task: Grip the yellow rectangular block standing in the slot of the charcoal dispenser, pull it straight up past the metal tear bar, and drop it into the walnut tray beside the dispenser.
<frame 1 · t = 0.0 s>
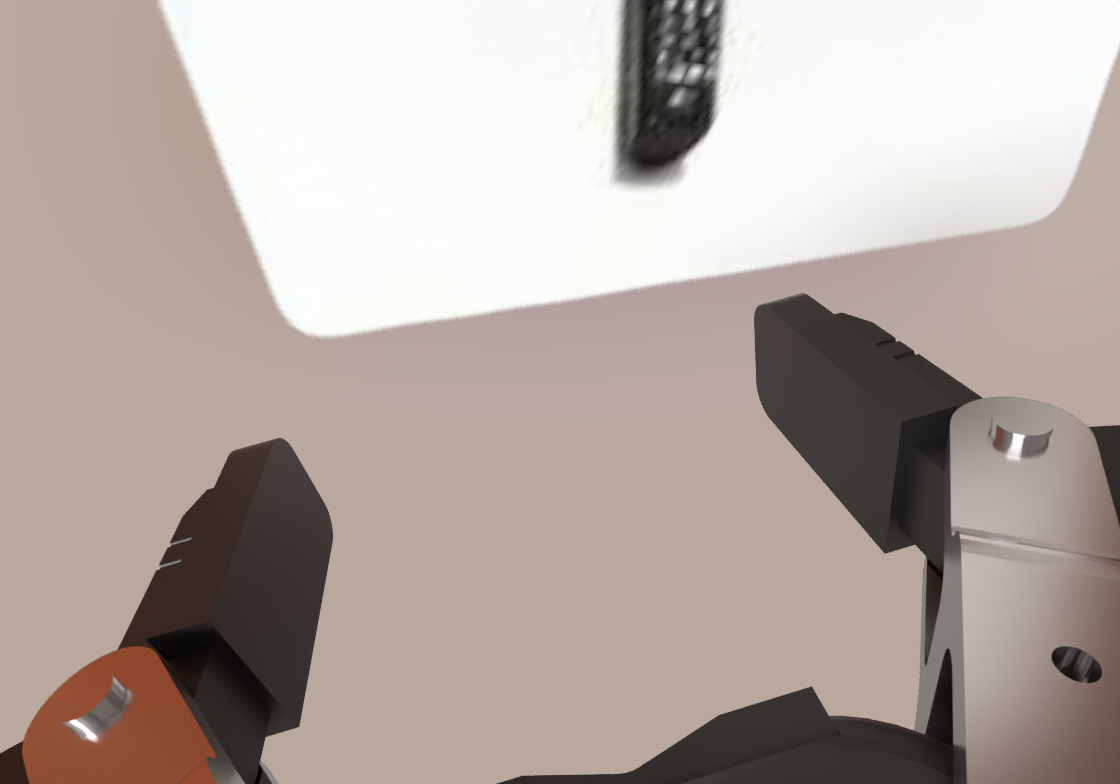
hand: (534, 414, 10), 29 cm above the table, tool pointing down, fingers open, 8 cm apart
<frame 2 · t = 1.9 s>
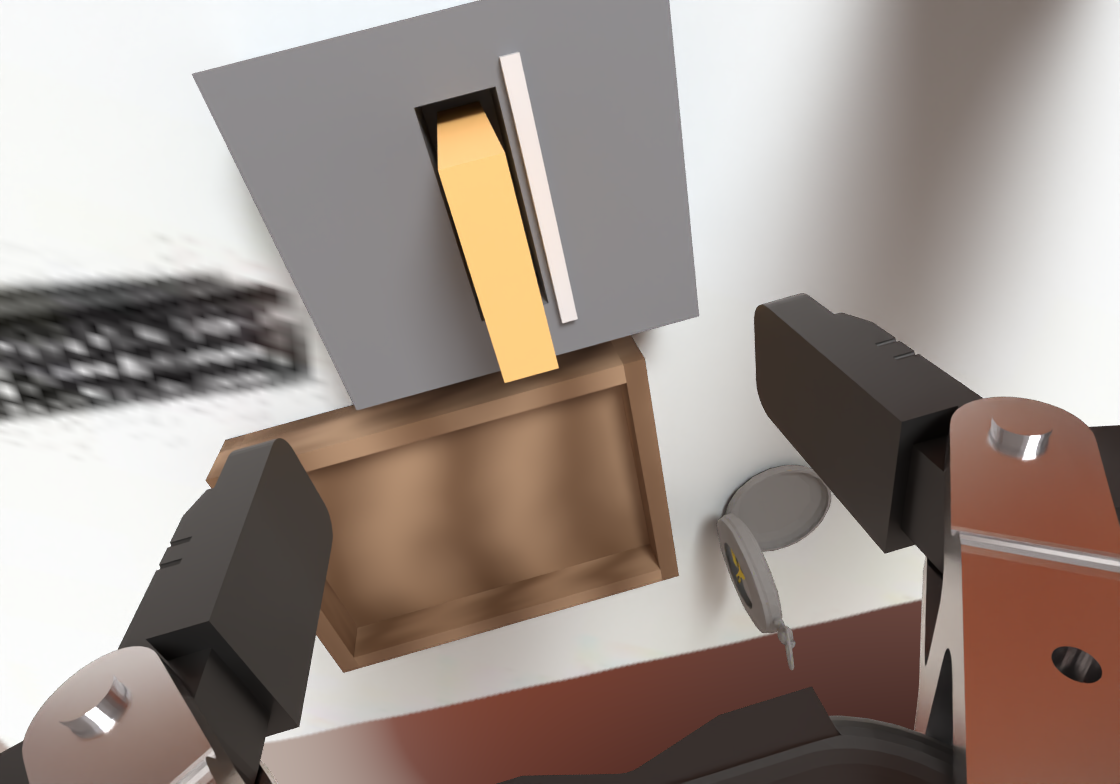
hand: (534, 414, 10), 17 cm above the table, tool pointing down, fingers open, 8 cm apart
tray: (472, 495, 34), on the table
dispenser: (479, 181, 25), on the table
pocket watch: (752, 503, 38), on the table
yellow rectangular block: (480, 187, 24), point 1 cm above the table, touching dispenser
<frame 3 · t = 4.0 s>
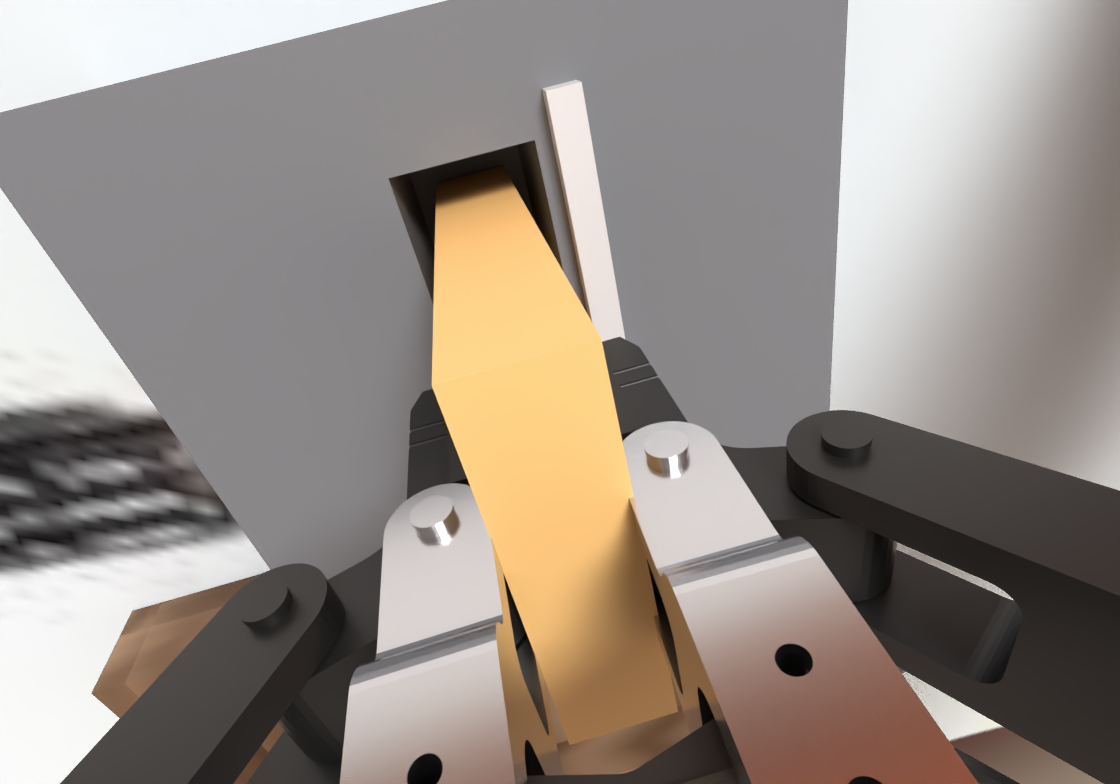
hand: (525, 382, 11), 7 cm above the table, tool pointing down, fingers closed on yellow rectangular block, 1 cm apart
tray: (478, 653, 25), on the table
dispenser: (493, 263, 17), on the table
yellow rectangular block: (503, 292, 16), point 1 cm above the table, touching gripper
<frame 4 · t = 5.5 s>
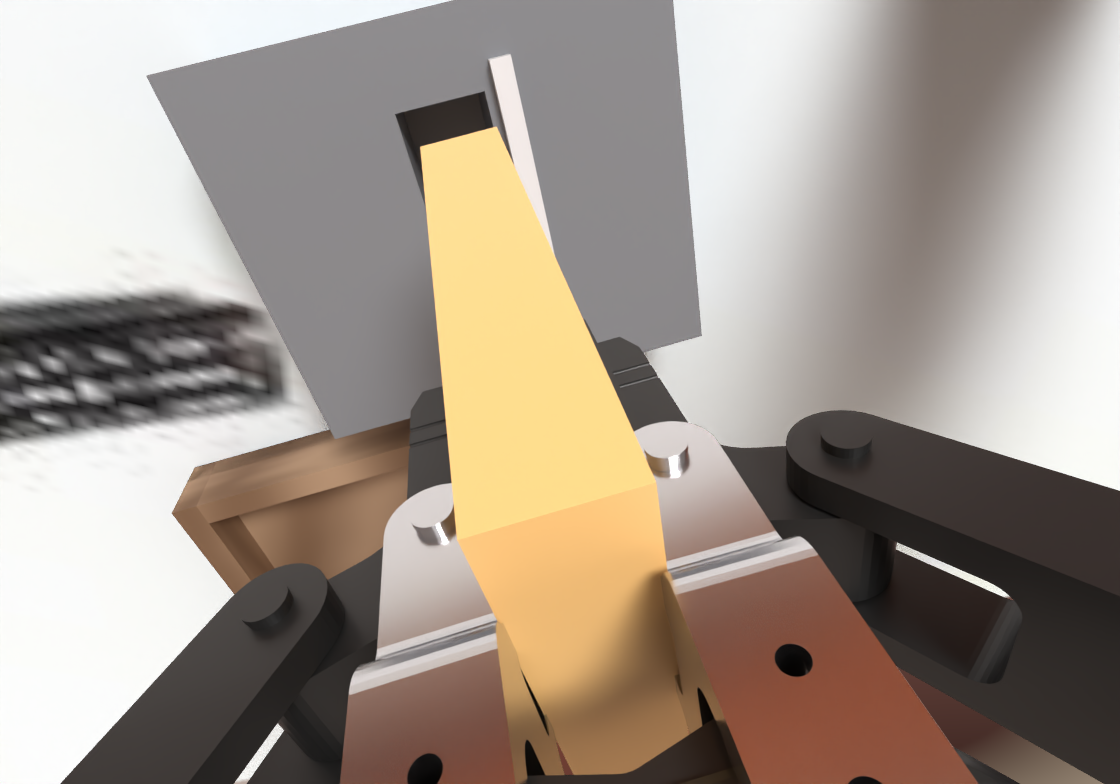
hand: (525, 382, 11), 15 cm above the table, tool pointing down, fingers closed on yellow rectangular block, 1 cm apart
tray: (460, 521, 32), on the table
dispenser: (466, 192, 23), on the table
yellow rectangular block: (495, 266, 14), point 10 cm above the table, tilted 7°, touching gripper
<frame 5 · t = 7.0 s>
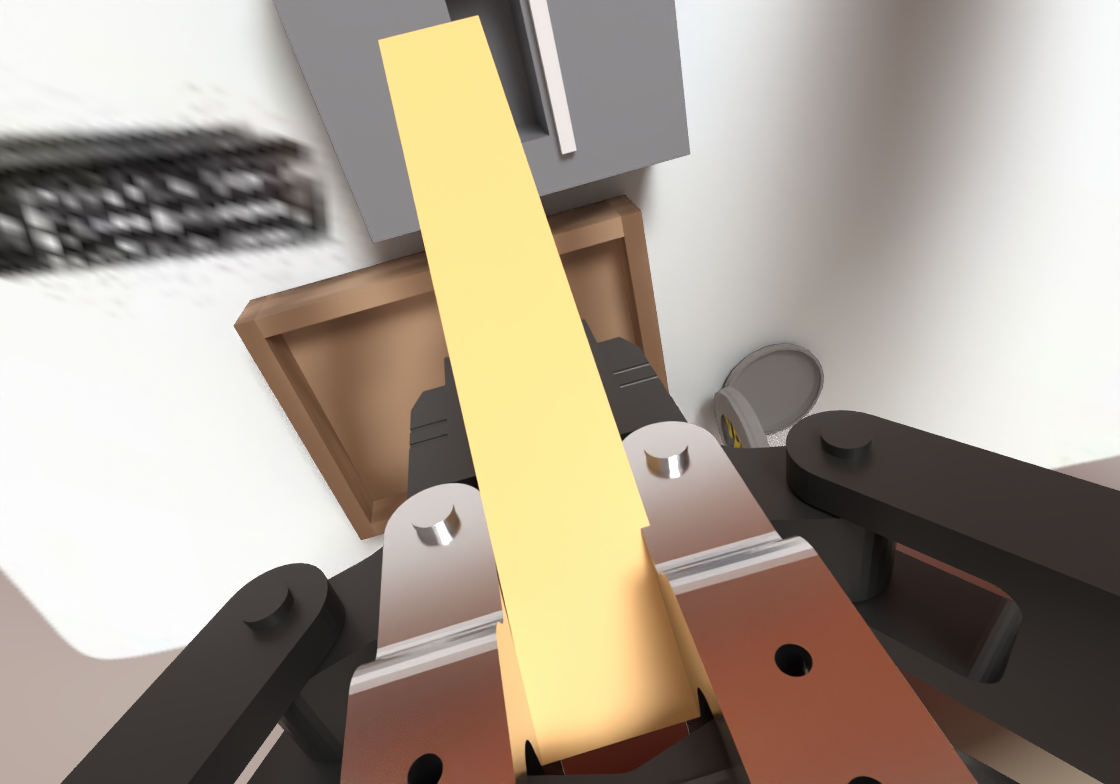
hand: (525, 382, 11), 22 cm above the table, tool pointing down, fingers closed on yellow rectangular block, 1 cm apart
tray: (481, 367, 36), on the table
dispenser: (484, 35, 27), on the table
pocket watch: (748, 387, 40), on the table
yellow rectangular block: (468, 169, 12), point 18 cm above the table, tilted 33°, touching gripper
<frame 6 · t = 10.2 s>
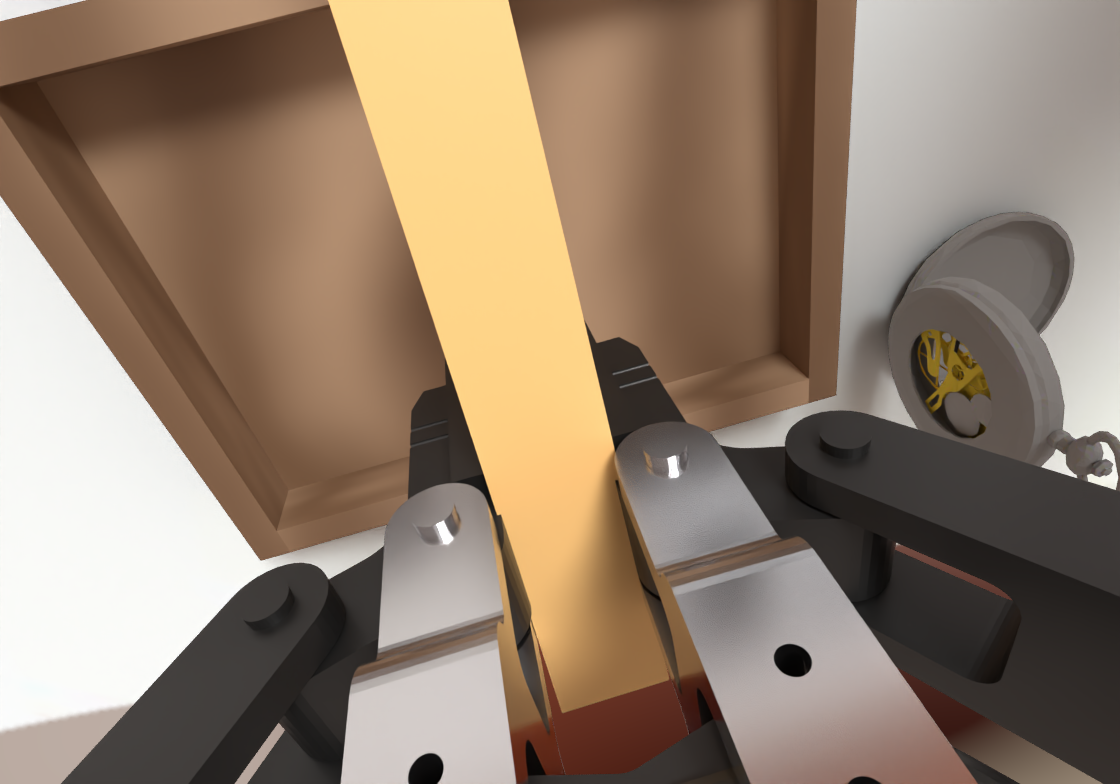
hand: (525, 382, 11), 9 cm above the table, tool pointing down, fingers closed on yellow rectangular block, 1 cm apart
tray: (486, 235, 19), on the table
pocket watch: (936, 298, 24), on the table
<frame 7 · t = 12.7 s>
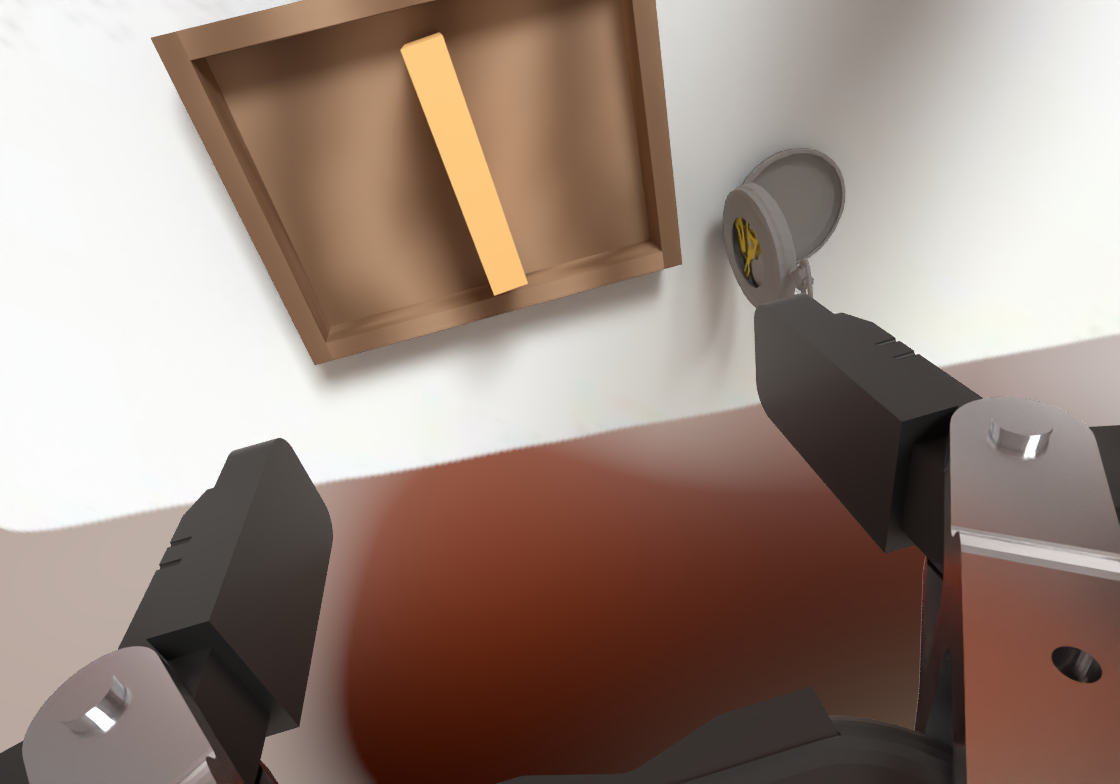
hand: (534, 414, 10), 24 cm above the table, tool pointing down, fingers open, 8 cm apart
tray: (456, 157, 31), on the table
pocket watch: (760, 209, 35), on the table
yellow rectangular block: (421, 40, 24), point 4 cm above the table, tilted 90°, touching tray
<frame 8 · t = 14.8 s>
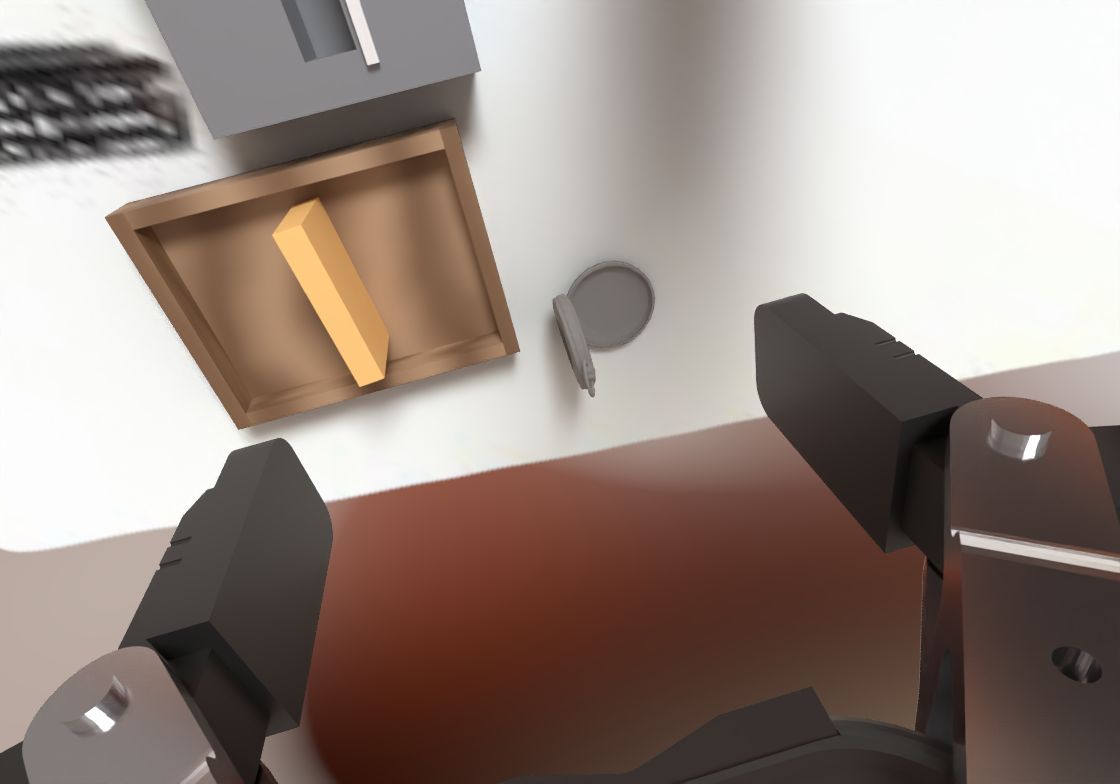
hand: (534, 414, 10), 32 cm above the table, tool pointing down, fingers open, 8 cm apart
tray: (342, 275, 41), on the table
pocket watch: (591, 303, 45), on the table
yellow rectangular block: (296, 214, 34), point 4 cm above the table, tilted 90°, touching tray
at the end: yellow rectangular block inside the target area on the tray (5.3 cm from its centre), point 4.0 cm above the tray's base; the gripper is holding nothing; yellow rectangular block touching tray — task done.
